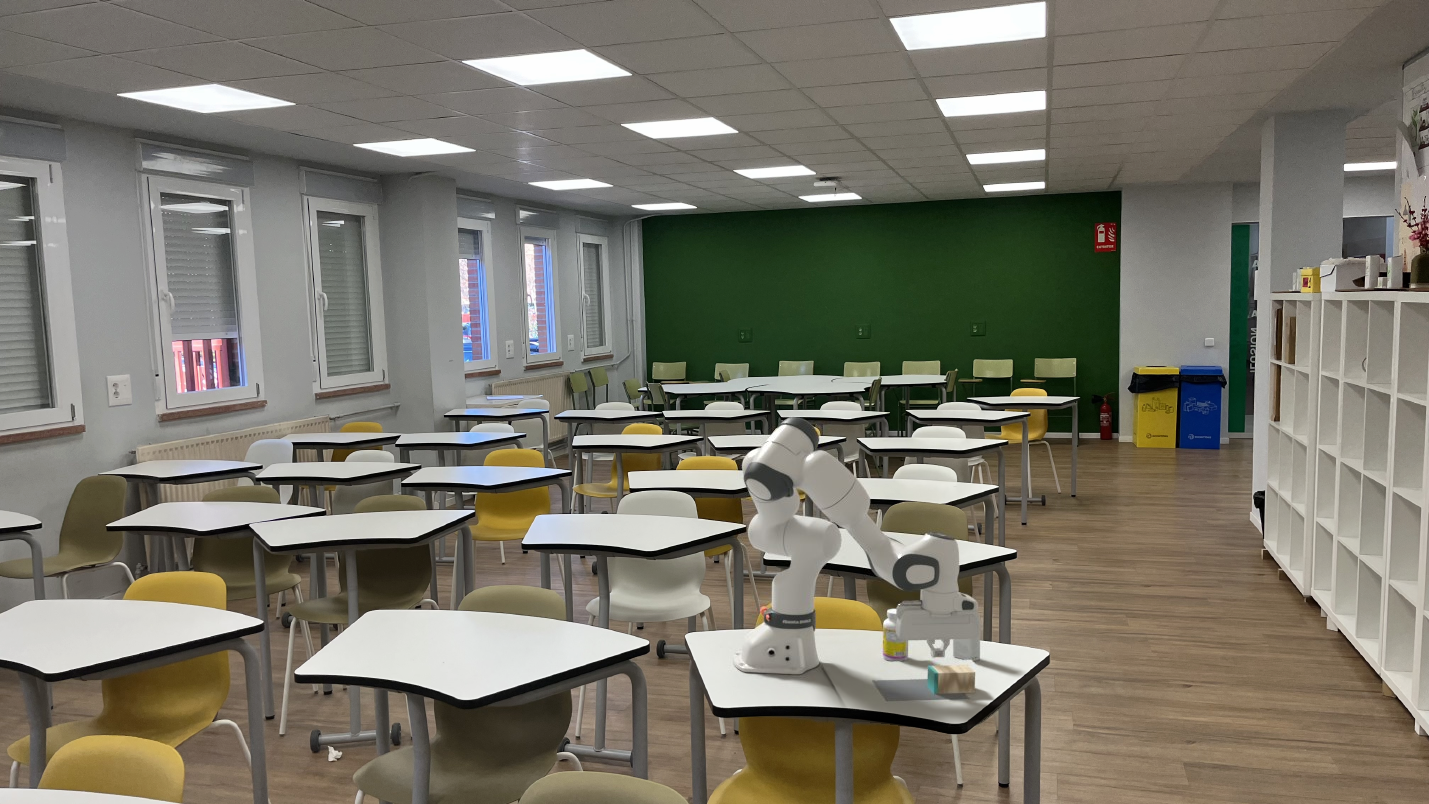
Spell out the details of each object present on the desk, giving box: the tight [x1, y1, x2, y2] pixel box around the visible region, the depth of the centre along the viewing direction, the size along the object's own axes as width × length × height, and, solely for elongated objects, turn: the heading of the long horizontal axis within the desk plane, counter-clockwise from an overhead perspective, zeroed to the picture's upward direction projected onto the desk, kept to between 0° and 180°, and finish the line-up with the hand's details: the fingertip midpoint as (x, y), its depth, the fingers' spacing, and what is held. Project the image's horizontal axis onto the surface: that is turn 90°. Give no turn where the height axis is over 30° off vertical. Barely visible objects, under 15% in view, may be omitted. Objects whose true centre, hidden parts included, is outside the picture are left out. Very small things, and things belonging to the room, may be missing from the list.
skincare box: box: [952, 636, 981, 662], centre depth 257 cm, size 6×4×12 cm
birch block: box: [926, 664, 976, 694], centre depth 232 cm, size 5×5×10 cm
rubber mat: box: [872, 678, 971, 702], centre depth 232 cm, size 20×13×1 cm, turn 95°
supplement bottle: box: [882, 608, 909, 663], centre depth 256 cm, size 7×7×13 cm
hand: (937, 656), depth 232 cm, fingers closed
